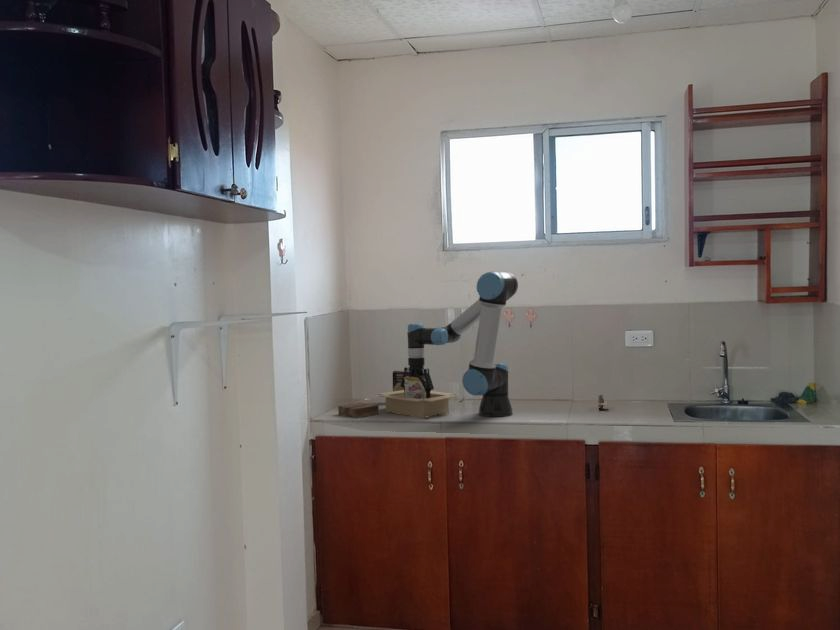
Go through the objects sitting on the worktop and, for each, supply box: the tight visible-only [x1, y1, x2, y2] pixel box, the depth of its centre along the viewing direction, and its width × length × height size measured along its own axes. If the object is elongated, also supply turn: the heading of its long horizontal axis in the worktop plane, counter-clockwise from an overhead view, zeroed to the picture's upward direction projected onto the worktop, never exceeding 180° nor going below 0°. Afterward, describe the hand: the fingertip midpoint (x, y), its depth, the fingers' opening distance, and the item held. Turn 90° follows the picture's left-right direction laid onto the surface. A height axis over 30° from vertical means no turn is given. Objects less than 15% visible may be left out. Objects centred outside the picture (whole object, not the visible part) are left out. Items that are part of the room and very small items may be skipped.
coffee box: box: [392, 370, 410, 392], centre depth 376 cm, size 9×6×16 cm
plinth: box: [337, 402, 380, 419], centre depth 346 cm, size 13×13×4 cm
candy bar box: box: [404, 376, 426, 399], centre depth 349 cm, size 11×5×16 cm, turn 70°
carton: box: [378, 390, 458, 418], centre depth 349 cm, size 34×26×8 cm
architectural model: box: [597, 393, 608, 408], centre depth 347 cm, size 3×7×7 cm, turn 162°
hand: (417, 403), depth 349 cm, fingers closed on candy bar box, 12 cm apart
